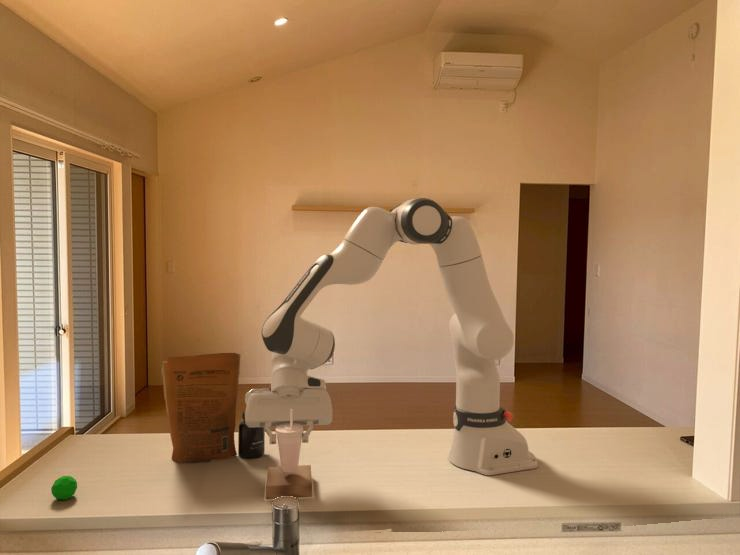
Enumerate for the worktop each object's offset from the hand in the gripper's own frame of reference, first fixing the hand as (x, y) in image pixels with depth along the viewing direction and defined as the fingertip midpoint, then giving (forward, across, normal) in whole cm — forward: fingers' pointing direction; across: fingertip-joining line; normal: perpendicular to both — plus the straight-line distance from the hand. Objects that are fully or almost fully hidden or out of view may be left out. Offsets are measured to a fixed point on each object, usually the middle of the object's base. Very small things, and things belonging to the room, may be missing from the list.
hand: (289, 442), depth 126 cm
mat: (+8, -1, +8) cm, 11 cm away
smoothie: (+4, 0, +5) cm, 7 cm away
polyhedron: (+6, -49, +10) cm, 50 cm away
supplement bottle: (-7, -10, +24) cm, 27 cm away
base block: (+7, 0, +8) cm, 11 cm away
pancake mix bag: (-6, -22, +23) cm, 32 cm away
